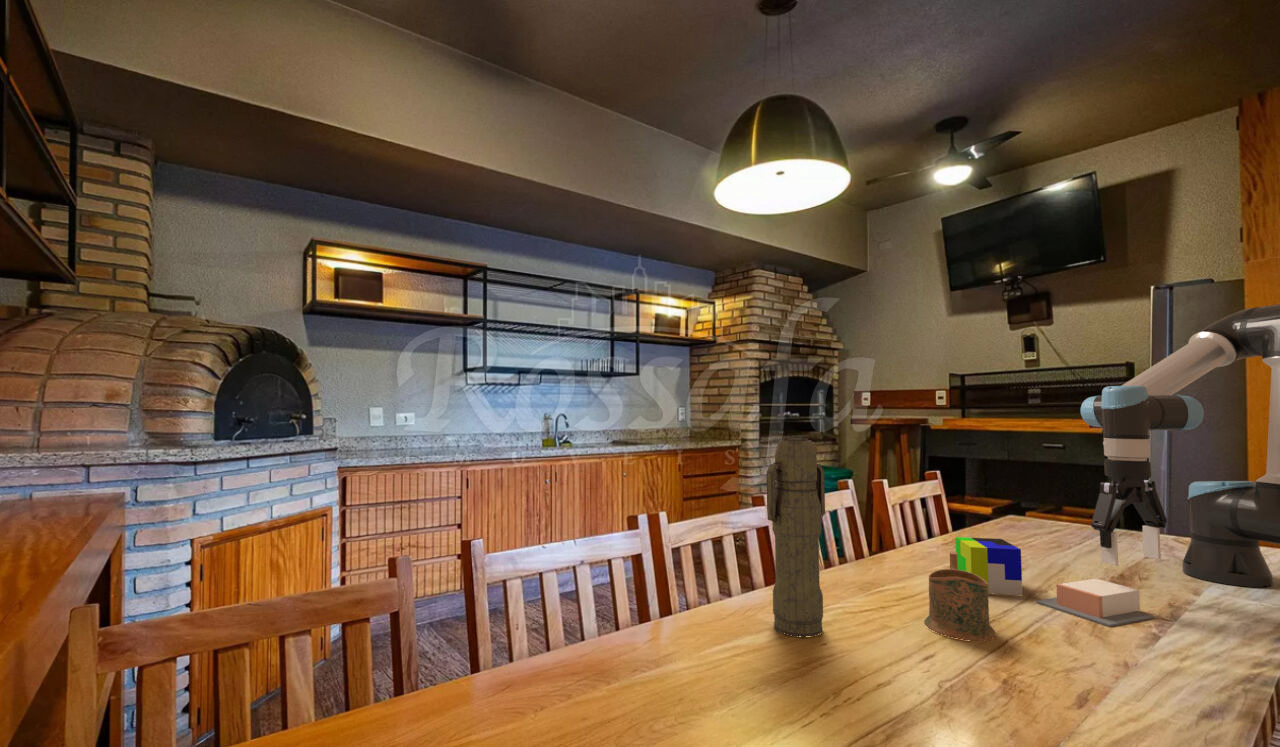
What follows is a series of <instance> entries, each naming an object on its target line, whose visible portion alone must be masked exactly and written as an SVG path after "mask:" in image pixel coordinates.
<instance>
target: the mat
mask: <svg viewBox="0 0 1280 747" xmlns="http://www.w3.org/2000/svg"><path fill="white" fill-rule="evenodd" d="M1035 603H1036V604H1039V605H1041V606H1043V607H1044V606H1045V607H1047V608H1050V609H1053V610H1057V611H1059V612H1062V613H1065V614H1069V615H1072V616H1074V617H1078V618H1081V619H1084V620H1087V621H1090V622H1093V623H1096V624H1099V625H1102V626H1105V627H1109V628H1113V627H1117V626H1123V625H1128V624H1132V623H1133V624H1134V623H1138V622H1143V621H1148V620H1153V619H1155V616H1154V615H1151V614H1148V613H1144V612H1140V611H1134V612H1129V613H1123V614H1118V615H1112V616H1107V617H1101V618H1098V617H1095V616H1092V615H1089V614H1086V613H1083V612H1080V611H1076V610H1073V609H1070V608H1067V607H1064V606H1061V605H1058V604H1057V596H1056V597H1050V598H1045V599H1040V600H1035Z"/></svg>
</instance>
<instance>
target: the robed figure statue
mask: <svg viewBox="0 0 1280 747" xmlns="http://www.w3.org/2000/svg"><path fill="white" fill-rule="evenodd" d="M825 485H826V483H825V469H824V467H823V466H822V464H820V463H818V457H817V451H816V449H815V446H814V442H813V441H812V440H809V438H806V437H783V438H782V439H780V440H778V443H777V444H776V448H775V452H774V462H773V463H771V464H769V467H768V468H767V470H766V512H767V520H768V521H771V522H772V523H771V524H772V532H773V534H774V548H775V549H774V551H775V552H774V554H775V555H774V557H775V561H774V563H775V565H774V566H775V582H774V585H773V589H772V612H773V615H774V616H773V618H774V622H773V627H775V628H776V629H777V630H778V631H780V632H782V633H785V634H788V635H792V636H798V637H797V638H799V636H801V637H806V636H815V635H818V634H820V633H821V632H822V633H823V618H824V597H823V596H824V595H823V592H822V589H821V586H820V540H819V539H820V537H821V534H822V518H823V517H824V515H826V493H825V492H826V489H825V488H826V487H825ZM775 628H774V629H775ZM776 629H775V630H776ZM777 630H776V631H777ZM778 631H777V632H778ZM780 632H779V633H780ZM782 633H781V634H782ZM822 633H821V634H822ZM821 634H820V635H821ZM788 635H787V636H788ZM792 636H791V637H792ZM818 636H819V635H818ZM815 637H816V636H815Z"/></svg>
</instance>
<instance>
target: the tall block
mask: <svg viewBox="0 0 1280 747" xmlns="http://www.w3.org/2000/svg"><path fill="white" fill-rule="evenodd" d="M1056 597H1057V604H1058V605H1061V606H1064V607H1067V608H1070V609H1073V610H1076V611H1080V612H1083V613H1086V614H1089V615H1092V616H1095V617H1098V618H1101V617H1107V616H1112V615H1118V614H1123V613H1129V612H1134V611H1138V612H1140V611H1141V602H1140V599H1141V598H1140V590H1139V589H1136V588H1132V587H1128V586H1125V585H1122V584H1118V583H1115V582H1111V581H1110V582H1109V581H1106V580H1103V579H1098V578H1092V579H1091V578H1090V579H1085V580H1077V581H1071V582H1065V583H1064V582H1063V583H1058V584H1056Z"/></svg>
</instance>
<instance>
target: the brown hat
mask: <svg viewBox="0 0 1280 747" xmlns="http://www.w3.org/2000/svg"><path fill="white" fill-rule="evenodd" d="M928 597H929V601H928V602H929V605H928V606H929V608H928V609H929V612H928V615H927V617H926V618H925V619H924V620H923V625H924V624H925V625H926V626H927V627H928V628H929V629H931V630H933V631H935V632H937V633H939V634H942V635H946V636H949V637H953V638H958V639H963V640H970V641H984V640H989V641H991V640H990V639H992V638H994V637H995V638H996V636H997V634H996V630H995V629H994V628H993V627H992V626H991V624H990V608H989V594H988V583H987V582H986V581H985V580H983V579H982V578H981V577H979V576H977V575H975V574H973V573H970V572H966V571H962V570H958V559H957V552H956V551H954V550H953V551H949V568H945V569H943V568H942V569H938V570H935V571H933V572H931V573H930V574H929V575H928ZM925 625H924V626H925ZM929 629H928V630H929ZM995 635H996V636H995ZM995 638H994V639H995ZM992 640H993V639H992ZM970 641H969V642H970ZM984 642H985V641H984Z"/></svg>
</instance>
